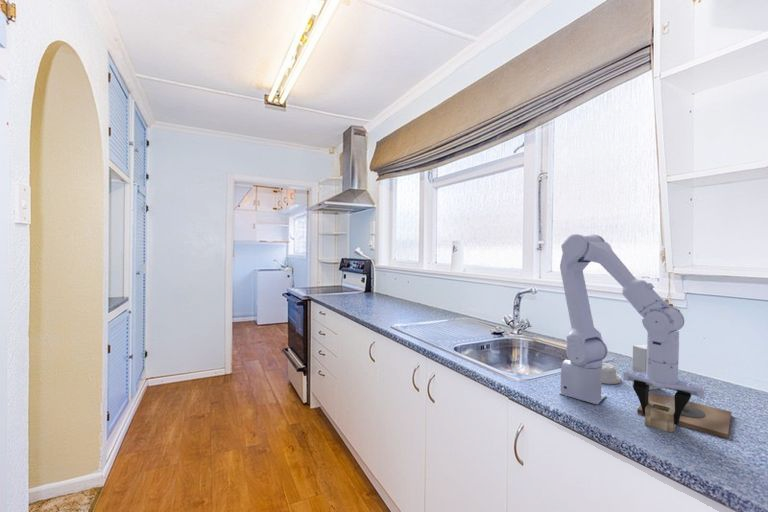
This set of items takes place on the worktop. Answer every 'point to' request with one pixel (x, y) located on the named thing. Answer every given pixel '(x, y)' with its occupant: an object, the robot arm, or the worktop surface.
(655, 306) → the robot arm
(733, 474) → the worktop surface
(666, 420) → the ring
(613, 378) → the mechanical component
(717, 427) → the post board
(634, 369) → the skincare box
